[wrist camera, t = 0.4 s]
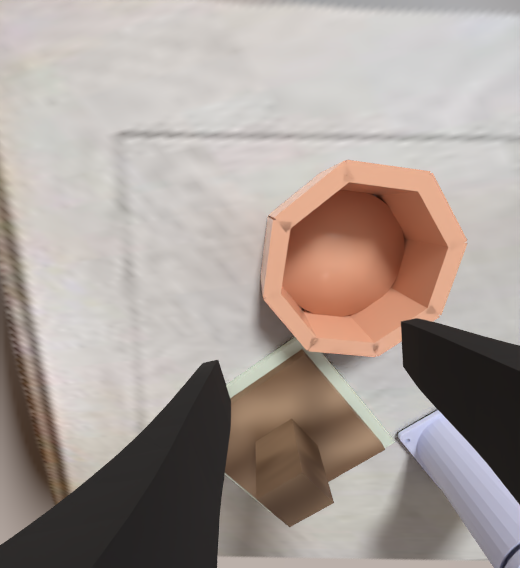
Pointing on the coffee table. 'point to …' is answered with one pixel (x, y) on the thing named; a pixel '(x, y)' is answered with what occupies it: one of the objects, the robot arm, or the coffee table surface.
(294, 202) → the bowl
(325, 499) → the lid
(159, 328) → the coffee table surface
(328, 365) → the mat
